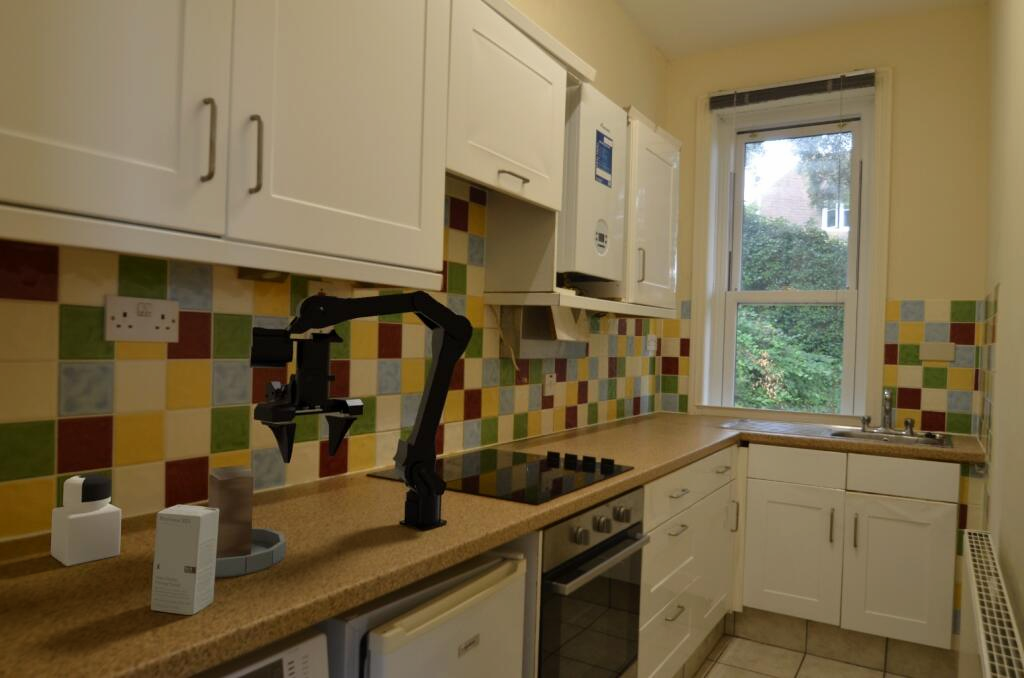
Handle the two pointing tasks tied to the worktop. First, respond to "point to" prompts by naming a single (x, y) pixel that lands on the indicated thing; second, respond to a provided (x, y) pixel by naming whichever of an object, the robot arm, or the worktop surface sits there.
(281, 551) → the slate dish
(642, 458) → the worktop surface
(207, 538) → the skincare box
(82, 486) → the medicine bottle
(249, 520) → the walnut block
